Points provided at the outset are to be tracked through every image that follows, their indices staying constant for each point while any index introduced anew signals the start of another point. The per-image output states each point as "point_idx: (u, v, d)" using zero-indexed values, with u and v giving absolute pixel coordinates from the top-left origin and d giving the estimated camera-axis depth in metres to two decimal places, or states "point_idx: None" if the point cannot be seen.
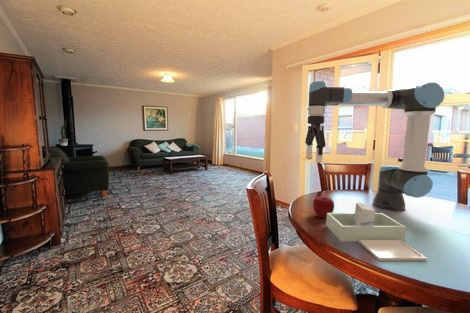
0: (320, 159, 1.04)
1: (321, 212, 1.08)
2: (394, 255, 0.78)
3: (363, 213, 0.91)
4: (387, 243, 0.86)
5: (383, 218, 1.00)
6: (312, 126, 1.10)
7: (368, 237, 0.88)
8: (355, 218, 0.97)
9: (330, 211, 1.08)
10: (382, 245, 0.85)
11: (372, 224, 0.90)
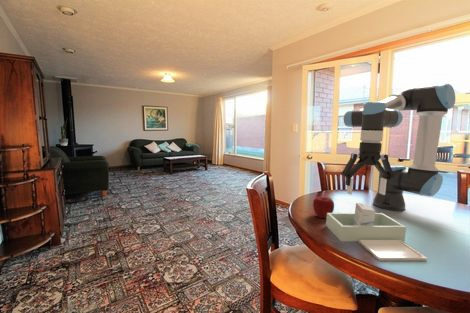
0: (349, 190, 0.92)
1: (321, 212, 1.08)
2: (394, 255, 0.78)
3: (363, 213, 0.91)
4: (387, 243, 0.86)
5: (383, 218, 1.00)
6: None
7: (368, 237, 0.88)
8: (355, 218, 0.97)
9: (330, 211, 1.08)
10: (382, 245, 0.85)
11: (372, 224, 0.90)
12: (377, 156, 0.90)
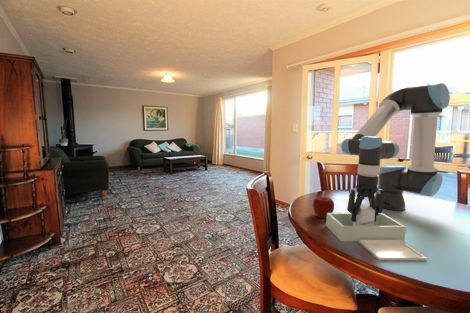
0: None
1: (321, 212, 1.08)
2: (394, 255, 0.78)
3: (363, 213, 0.91)
4: (387, 243, 0.86)
5: (383, 218, 1.00)
6: None
7: (368, 237, 0.88)
8: None
9: (330, 211, 1.08)
10: (382, 245, 0.85)
11: (372, 224, 0.90)
12: (374, 188, 0.92)
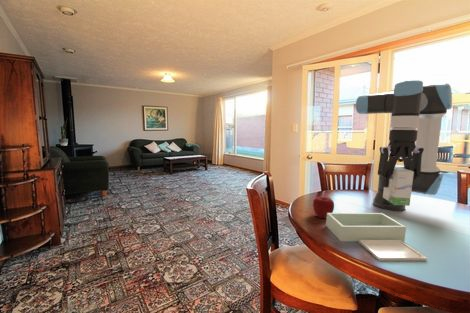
0: (387, 193, 0.78)
1: (321, 212, 1.08)
2: (394, 255, 0.78)
3: (398, 175, 0.74)
4: (387, 243, 0.86)
5: (383, 218, 1.00)
6: None
7: (368, 237, 0.88)
8: None
9: (330, 211, 1.08)
10: (382, 245, 0.85)
11: (410, 188, 0.74)
12: (412, 145, 0.76)
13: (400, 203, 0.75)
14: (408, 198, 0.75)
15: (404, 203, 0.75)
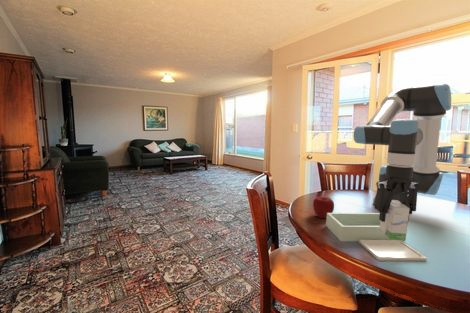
0: (383, 227, 0.80)
1: (321, 212, 1.08)
2: (394, 255, 0.78)
3: (394, 211, 0.76)
4: (387, 243, 0.86)
5: None
6: None
7: (368, 237, 0.88)
8: None
9: (330, 211, 1.08)
10: (382, 245, 0.85)
11: (406, 224, 0.76)
12: (408, 182, 0.77)
13: (396, 238, 0.77)
14: (404, 233, 0.76)
15: (400, 238, 0.77)
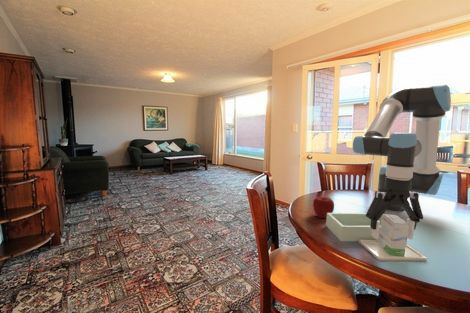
0: (375, 234, 0.80)
1: (321, 212, 1.08)
2: (394, 255, 0.78)
3: (395, 227, 0.76)
4: None
5: None
6: None
7: (368, 237, 0.88)
8: (382, 232, 0.83)
9: (330, 211, 1.08)
10: None
11: (405, 240, 0.77)
12: (406, 194, 0.78)
13: (395, 254, 0.78)
14: (403, 249, 0.77)
15: (399, 254, 0.77)
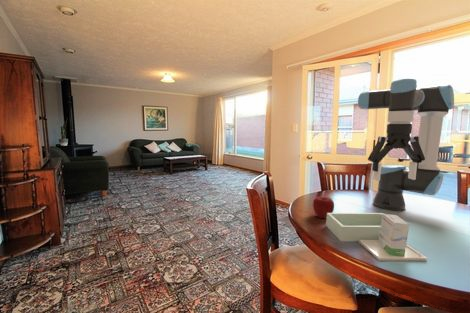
0: (376, 176, 0.86)
1: (321, 212, 1.08)
2: (394, 255, 0.78)
3: (395, 227, 0.76)
4: None
5: None
6: None
7: (368, 237, 0.88)
8: (382, 232, 0.83)
9: (330, 211, 1.08)
10: None
11: (405, 240, 0.77)
12: (407, 138, 0.83)
13: (395, 254, 0.78)
14: (403, 249, 0.77)
15: (399, 254, 0.77)
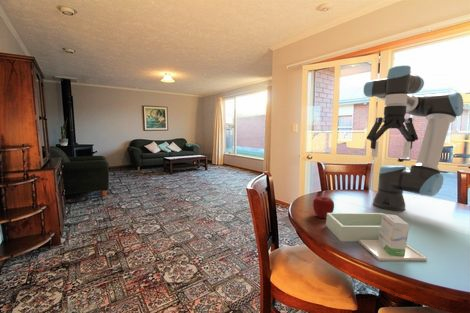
0: (374, 153, 0.96)
1: (321, 212, 1.08)
2: (394, 255, 0.78)
3: (395, 227, 0.76)
4: None
5: None
6: None
7: (368, 237, 0.88)
8: (382, 232, 0.83)
9: (330, 211, 1.08)
10: None
11: (405, 240, 0.77)
12: (402, 119, 0.93)
13: (395, 254, 0.78)
14: (403, 249, 0.77)
15: (399, 254, 0.77)
